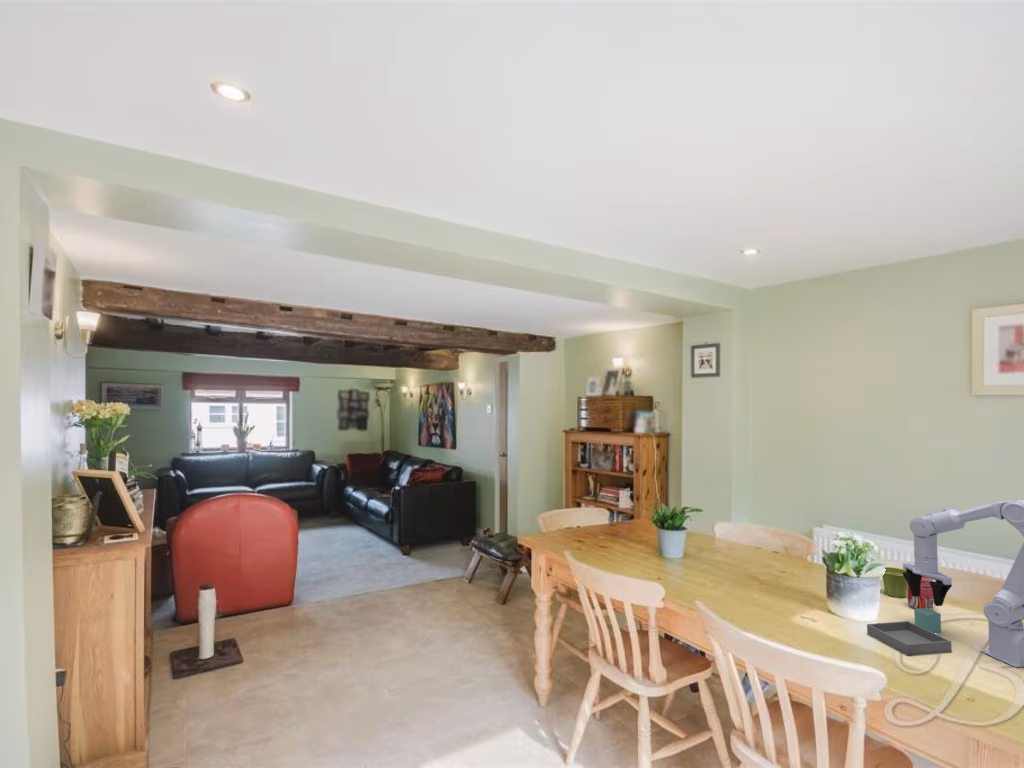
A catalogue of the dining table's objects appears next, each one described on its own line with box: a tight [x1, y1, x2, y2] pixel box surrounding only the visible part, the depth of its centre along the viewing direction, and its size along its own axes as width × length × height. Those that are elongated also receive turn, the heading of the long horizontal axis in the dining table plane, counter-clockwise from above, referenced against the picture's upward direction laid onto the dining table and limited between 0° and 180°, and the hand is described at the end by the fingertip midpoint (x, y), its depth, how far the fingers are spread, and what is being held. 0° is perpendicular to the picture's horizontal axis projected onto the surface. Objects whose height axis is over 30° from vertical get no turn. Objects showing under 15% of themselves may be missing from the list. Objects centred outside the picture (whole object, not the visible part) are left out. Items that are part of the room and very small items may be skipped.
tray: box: [866, 620, 952, 657], centre depth 157 cm, size 14×14×3 cm
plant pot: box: [881, 566, 907, 599], centre depth 195 cm, size 9×9×9 cm
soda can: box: [906, 576, 934, 610], centre depth 183 cm, size 7×7×12 cm
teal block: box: [913, 608, 942, 634], centre depth 165 cm, size 4×4×6 cm
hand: (926, 600), depth 165 cm, fingers open, 7 cm apart
